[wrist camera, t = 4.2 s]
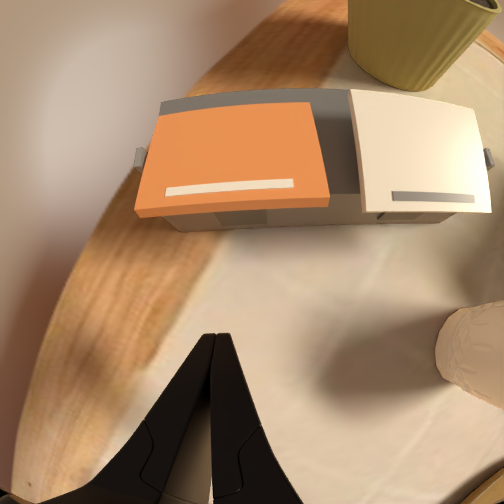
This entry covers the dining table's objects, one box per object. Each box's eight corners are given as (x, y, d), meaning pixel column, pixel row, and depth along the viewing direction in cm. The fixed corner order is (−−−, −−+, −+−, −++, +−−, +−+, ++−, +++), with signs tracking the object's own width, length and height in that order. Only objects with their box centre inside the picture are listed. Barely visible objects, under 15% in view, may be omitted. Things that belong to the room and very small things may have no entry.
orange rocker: (327, 206, 13) (330, 196, 12) (140, 217, 14) (133, 209, 13) (308, 112, 16) (309, 101, 15) (162, 125, 17) (158, 115, 16)
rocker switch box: (478, 224, 21) (539, 193, 12) (180, 234, 23) (129, 194, 14) (458, 147, 22) (503, 100, 14) (185, 145, 24) (149, 81, 15)
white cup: (492, 370, 18) (563, 385, 8) (430, 401, 18) (500, 439, 9) (487, 291, 20) (564, 279, 10) (423, 313, 20) (504, 313, 10)
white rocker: (484, 213, 14) (492, 212, 13) (361, 212, 15) (366, 211, 14) (467, 113, 14) (473, 109, 13) (347, 95, 14) (350, 88, 13)
